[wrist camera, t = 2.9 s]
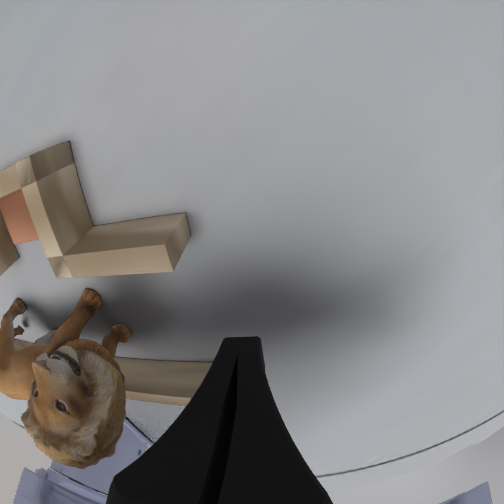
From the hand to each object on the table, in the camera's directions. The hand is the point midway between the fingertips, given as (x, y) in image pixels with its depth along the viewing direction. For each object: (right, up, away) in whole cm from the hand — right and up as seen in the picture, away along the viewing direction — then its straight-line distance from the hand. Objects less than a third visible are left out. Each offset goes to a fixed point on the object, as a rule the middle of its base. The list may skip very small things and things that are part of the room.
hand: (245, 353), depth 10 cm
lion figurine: (-10, +1, +4) cm, 11 cm away
